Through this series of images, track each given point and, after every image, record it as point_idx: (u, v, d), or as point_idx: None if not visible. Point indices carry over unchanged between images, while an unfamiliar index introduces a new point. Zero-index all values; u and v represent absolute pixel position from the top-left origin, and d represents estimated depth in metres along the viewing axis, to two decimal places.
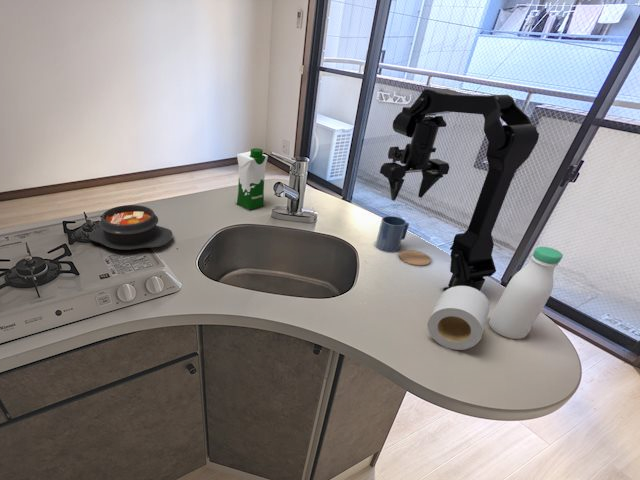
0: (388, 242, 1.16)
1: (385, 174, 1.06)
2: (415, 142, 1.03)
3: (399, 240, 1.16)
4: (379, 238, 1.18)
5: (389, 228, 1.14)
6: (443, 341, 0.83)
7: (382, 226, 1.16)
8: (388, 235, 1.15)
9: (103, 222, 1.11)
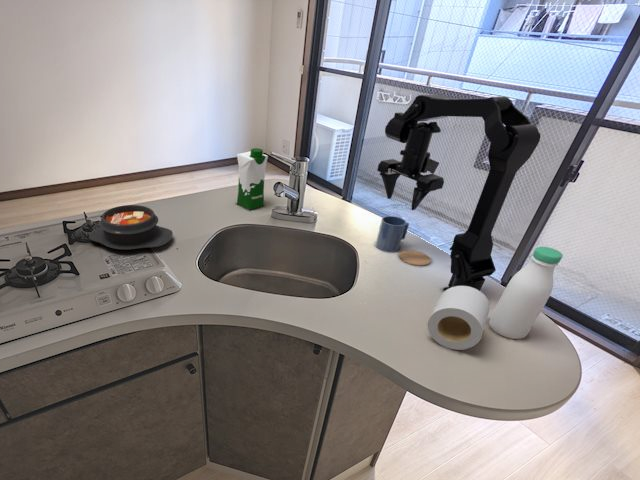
0: (388, 242, 1.16)
1: None
2: None
3: (399, 240, 1.16)
4: (379, 238, 1.18)
5: (389, 228, 1.14)
6: (443, 341, 0.83)
7: (382, 226, 1.16)
8: (388, 235, 1.15)
9: (103, 222, 1.11)
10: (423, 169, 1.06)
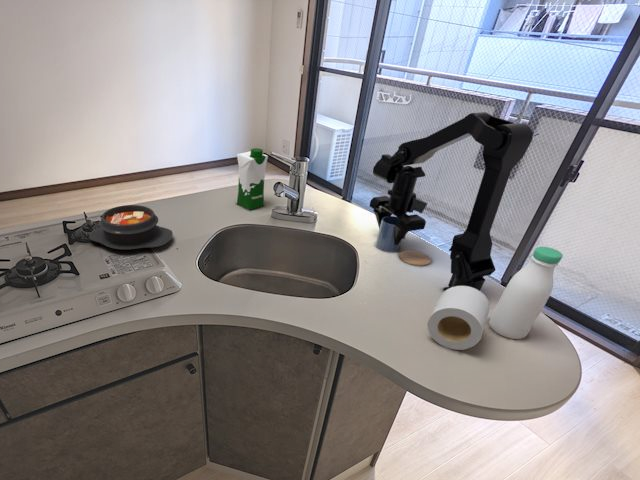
0: (388, 242, 1.16)
1: None
2: None
3: None
4: (379, 238, 1.18)
5: (389, 228, 1.14)
6: (443, 341, 0.83)
7: (382, 226, 1.16)
8: (388, 235, 1.15)
9: (103, 222, 1.11)
10: (409, 209, 1.11)
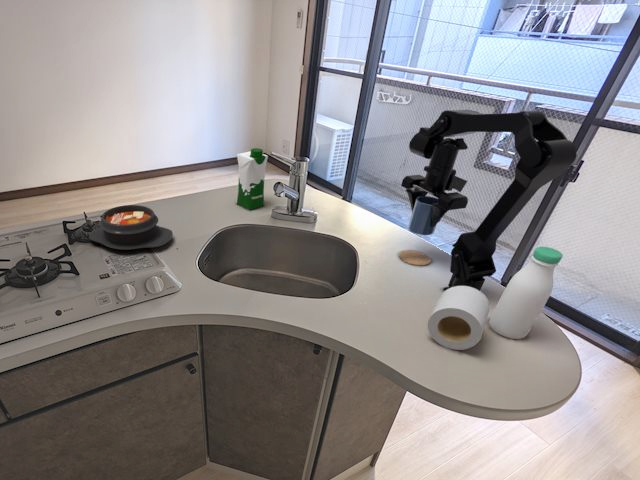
0: (423, 224, 1.06)
1: None
2: None
3: None
4: (413, 220, 1.07)
5: (425, 208, 1.03)
6: (443, 341, 0.83)
7: (417, 207, 1.05)
8: (424, 216, 1.05)
9: (103, 222, 1.11)
10: (448, 187, 1.01)
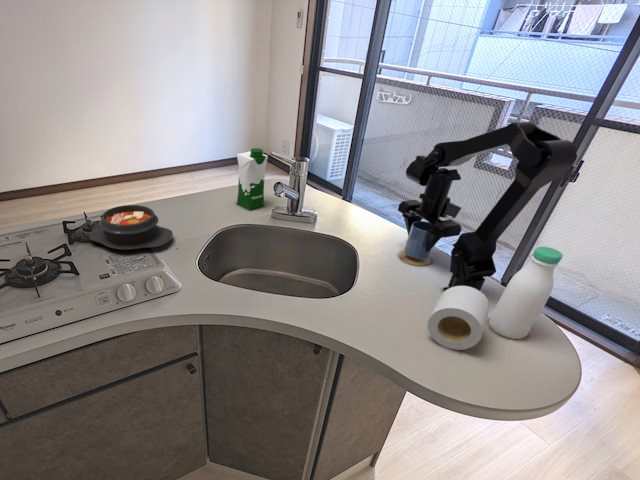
0: (419, 249, 1.09)
1: None
2: None
3: None
4: (409, 244, 1.11)
5: (420, 234, 1.07)
6: (443, 341, 0.83)
7: (412, 232, 1.09)
8: (419, 241, 1.08)
9: (103, 222, 1.11)
10: (442, 214, 1.05)
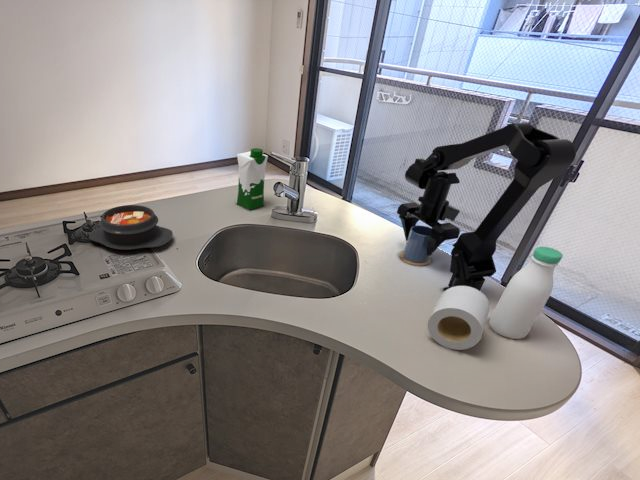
0: (417, 253, 1.10)
1: None
2: None
3: None
4: (407, 249, 1.12)
5: (419, 238, 1.08)
6: (443, 341, 0.83)
7: (411, 236, 1.10)
8: (418, 246, 1.09)
9: (103, 222, 1.11)
10: (441, 217, 1.05)
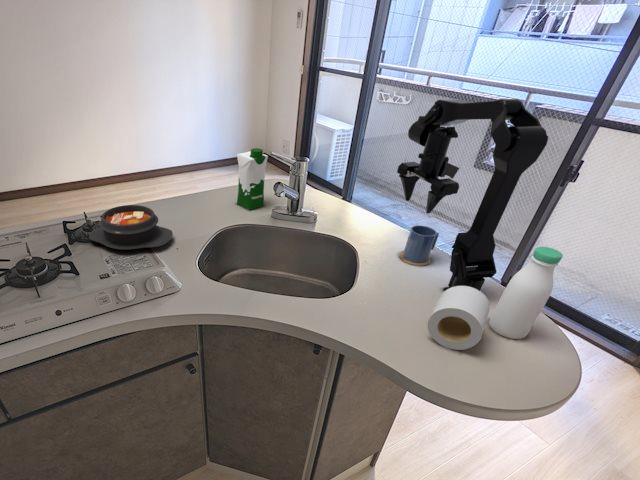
0: (417, 253, 1.10)
1: None
2: None
3: (429, 251, 1.10)
4: (407, 249, 1.12)
5: (419, 238, 1.08)
6: (443, 341, 0.83)
7: (411, 236, 1.10)
8: (418, 246, 1.09)
9: (103, 222, 1.11)
10: (440, 173, 1.07)
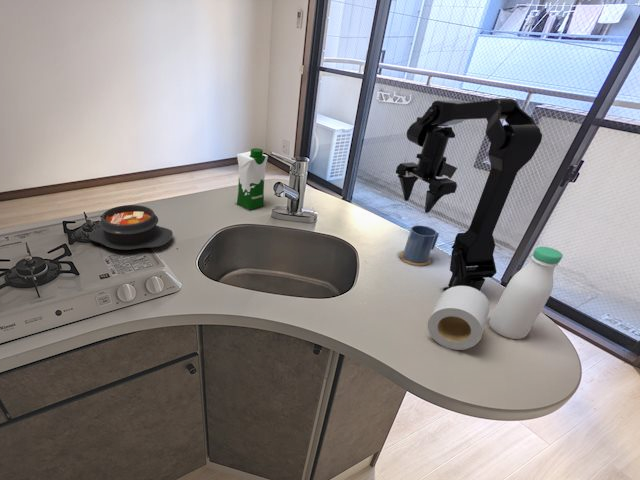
0: (417, 253, 1.10)
1: None
2: None
3: (429, 251, 1.10)
4: (407, 249, 1.12)
5: (419, 238, 1.08)
6: (443, 341, 0.83)
7: (411, 236, 1.10)
8: (418, 246, 1.09)
9: (103, 222, 1.11)
10: (438, 173, 1.08)
